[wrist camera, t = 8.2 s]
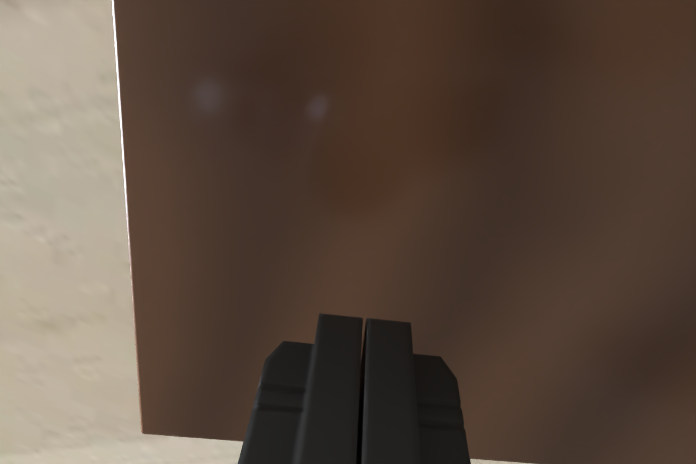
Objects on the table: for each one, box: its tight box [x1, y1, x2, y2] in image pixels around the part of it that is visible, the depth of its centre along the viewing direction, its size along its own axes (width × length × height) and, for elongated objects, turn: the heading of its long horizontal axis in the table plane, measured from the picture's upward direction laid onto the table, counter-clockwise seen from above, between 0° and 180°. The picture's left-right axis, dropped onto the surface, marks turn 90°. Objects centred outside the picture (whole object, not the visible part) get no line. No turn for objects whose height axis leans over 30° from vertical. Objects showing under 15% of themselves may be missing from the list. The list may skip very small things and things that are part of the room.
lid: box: [112, 0, 696, 464], centre depth 15 cm, size 14×12×1 cm
